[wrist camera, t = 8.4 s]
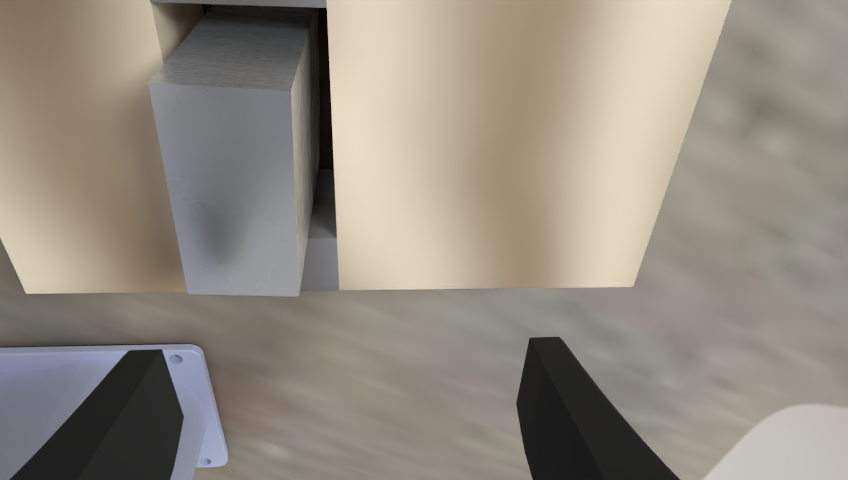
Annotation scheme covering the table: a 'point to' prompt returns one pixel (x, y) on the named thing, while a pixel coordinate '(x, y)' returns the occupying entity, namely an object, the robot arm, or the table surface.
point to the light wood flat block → (368, 140)
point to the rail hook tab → (242, 147)
